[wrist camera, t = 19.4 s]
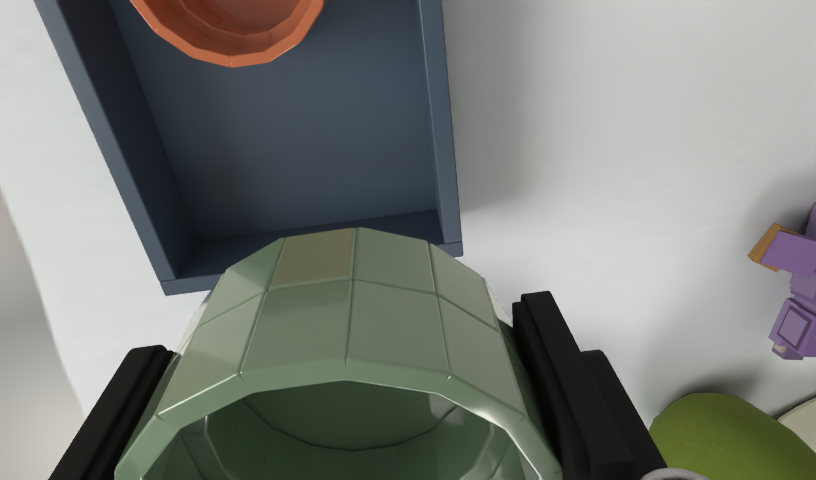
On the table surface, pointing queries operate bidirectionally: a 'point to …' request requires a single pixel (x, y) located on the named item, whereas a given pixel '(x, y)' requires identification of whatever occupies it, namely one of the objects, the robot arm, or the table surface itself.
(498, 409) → the sage bowl
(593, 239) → the table surface
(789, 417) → the cream conch seashell
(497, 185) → the table surface
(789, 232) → the toy figure
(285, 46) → the terracotta bowl
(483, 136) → the table surface
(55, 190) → the table surface
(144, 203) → the tub
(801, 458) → the olive green egg shape
